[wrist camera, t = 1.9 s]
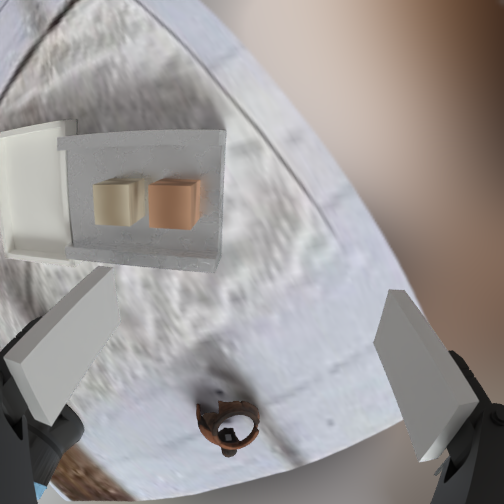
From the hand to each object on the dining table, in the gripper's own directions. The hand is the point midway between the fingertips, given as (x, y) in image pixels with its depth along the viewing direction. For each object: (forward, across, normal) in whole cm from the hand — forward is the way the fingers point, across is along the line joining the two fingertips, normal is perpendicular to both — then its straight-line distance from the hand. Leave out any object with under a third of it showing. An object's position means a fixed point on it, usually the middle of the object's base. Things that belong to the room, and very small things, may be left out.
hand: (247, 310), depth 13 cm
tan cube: (+20, -8, 0) cm, 21 cm away
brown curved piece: (+23, -3, -34) cm, 41 cm away
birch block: (+20, -14, 0) cm, 24 cm away
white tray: (+22, -29, 0) cm, 37 cm away
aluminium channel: (+22, -13, 0) cm, 26 cm away
